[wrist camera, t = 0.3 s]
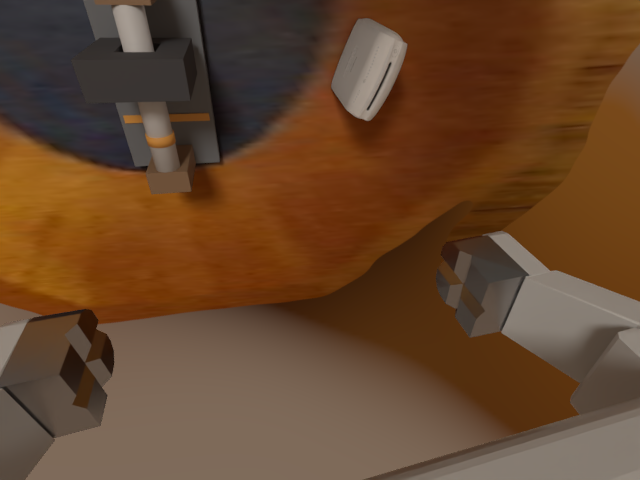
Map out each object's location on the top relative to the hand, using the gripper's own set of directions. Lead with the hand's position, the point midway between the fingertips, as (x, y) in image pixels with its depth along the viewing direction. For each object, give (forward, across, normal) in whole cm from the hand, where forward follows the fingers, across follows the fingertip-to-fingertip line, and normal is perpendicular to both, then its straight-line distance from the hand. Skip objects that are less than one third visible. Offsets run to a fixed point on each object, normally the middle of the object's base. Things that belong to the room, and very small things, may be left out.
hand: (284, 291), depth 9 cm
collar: (+45, +9, +3) cm, 46 cm away
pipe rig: (+48, +9, +6) cm, 50 cm away
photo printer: (+47, -17, +5) cm, 50 cm away
